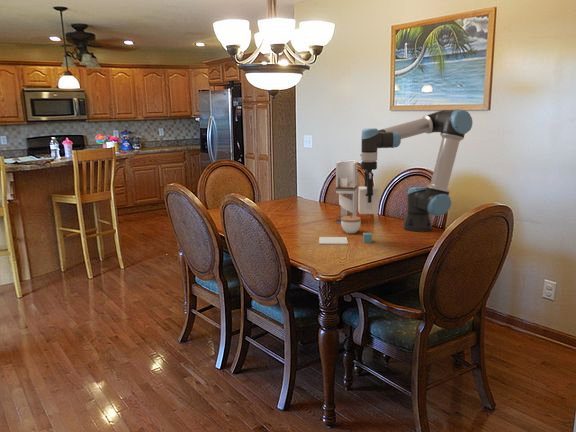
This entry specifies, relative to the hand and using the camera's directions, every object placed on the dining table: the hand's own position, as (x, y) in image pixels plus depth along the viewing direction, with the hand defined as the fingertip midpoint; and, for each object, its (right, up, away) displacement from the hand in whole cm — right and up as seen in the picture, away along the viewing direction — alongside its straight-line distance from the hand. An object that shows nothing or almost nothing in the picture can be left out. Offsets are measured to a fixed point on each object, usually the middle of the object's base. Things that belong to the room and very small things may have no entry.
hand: (368, 207), depth 231 cm
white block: (0, -2, +1) cm, 2 cm away
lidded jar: (-5, -13, +23) cm, 27 cm away
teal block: (0, -17, +4) cm, 18 cm away
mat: (-17, -17, +5) cm, 24 cm away
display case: (-5, -8, +47) cm, 48 cm away
